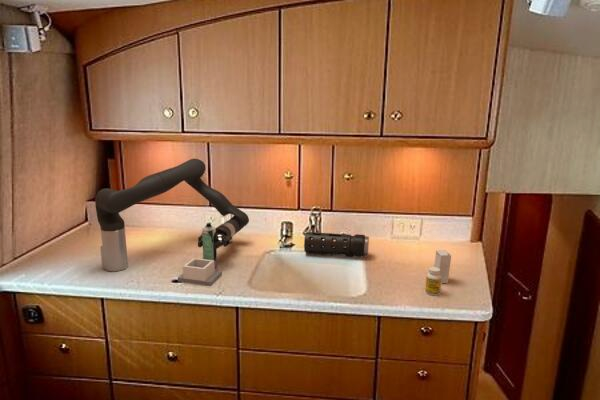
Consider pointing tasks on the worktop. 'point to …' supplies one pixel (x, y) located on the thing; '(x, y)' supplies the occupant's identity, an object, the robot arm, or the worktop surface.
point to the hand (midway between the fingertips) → (207, 246)
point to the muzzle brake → (336, 244)
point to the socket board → (199, 272)
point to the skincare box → (443, 264)
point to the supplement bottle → (433, 281)
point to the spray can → (209, 243)
